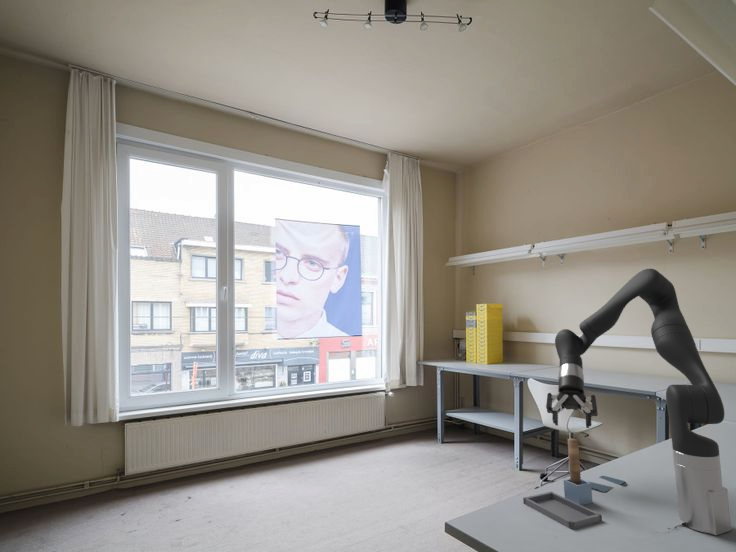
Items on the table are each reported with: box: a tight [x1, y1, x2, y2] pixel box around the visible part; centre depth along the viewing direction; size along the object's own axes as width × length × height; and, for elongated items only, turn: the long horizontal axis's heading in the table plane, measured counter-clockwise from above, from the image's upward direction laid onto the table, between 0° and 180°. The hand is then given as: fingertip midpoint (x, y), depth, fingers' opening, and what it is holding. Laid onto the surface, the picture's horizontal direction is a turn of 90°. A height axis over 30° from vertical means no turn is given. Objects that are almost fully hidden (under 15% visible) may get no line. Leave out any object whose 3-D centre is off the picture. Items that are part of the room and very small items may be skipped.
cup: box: [563, 478, 593, 506], centre depth 117 cm, size 5×5×6 cm
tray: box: [522, 491, 603, 530], centre depth 111 cm, size 16×10×2 cm, turn 22°
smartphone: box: [589, 475, 627, 494], centre depth 129 cm, size 8×2×15 cm
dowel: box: [567, 438, 582, 485], centre depth 118 cm, size 3×3×16 cm
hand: (571, 425), depth 129 cm, fingers open, 8 cm apart
